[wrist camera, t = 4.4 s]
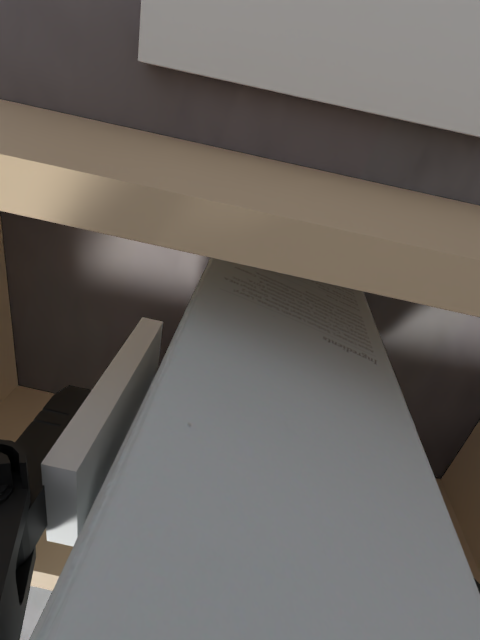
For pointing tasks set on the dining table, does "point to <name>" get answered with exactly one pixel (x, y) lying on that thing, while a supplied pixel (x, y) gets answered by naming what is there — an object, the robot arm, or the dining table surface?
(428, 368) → the dining table surface
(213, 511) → the skincare box
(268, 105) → the dining table surface
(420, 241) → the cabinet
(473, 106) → the pad
